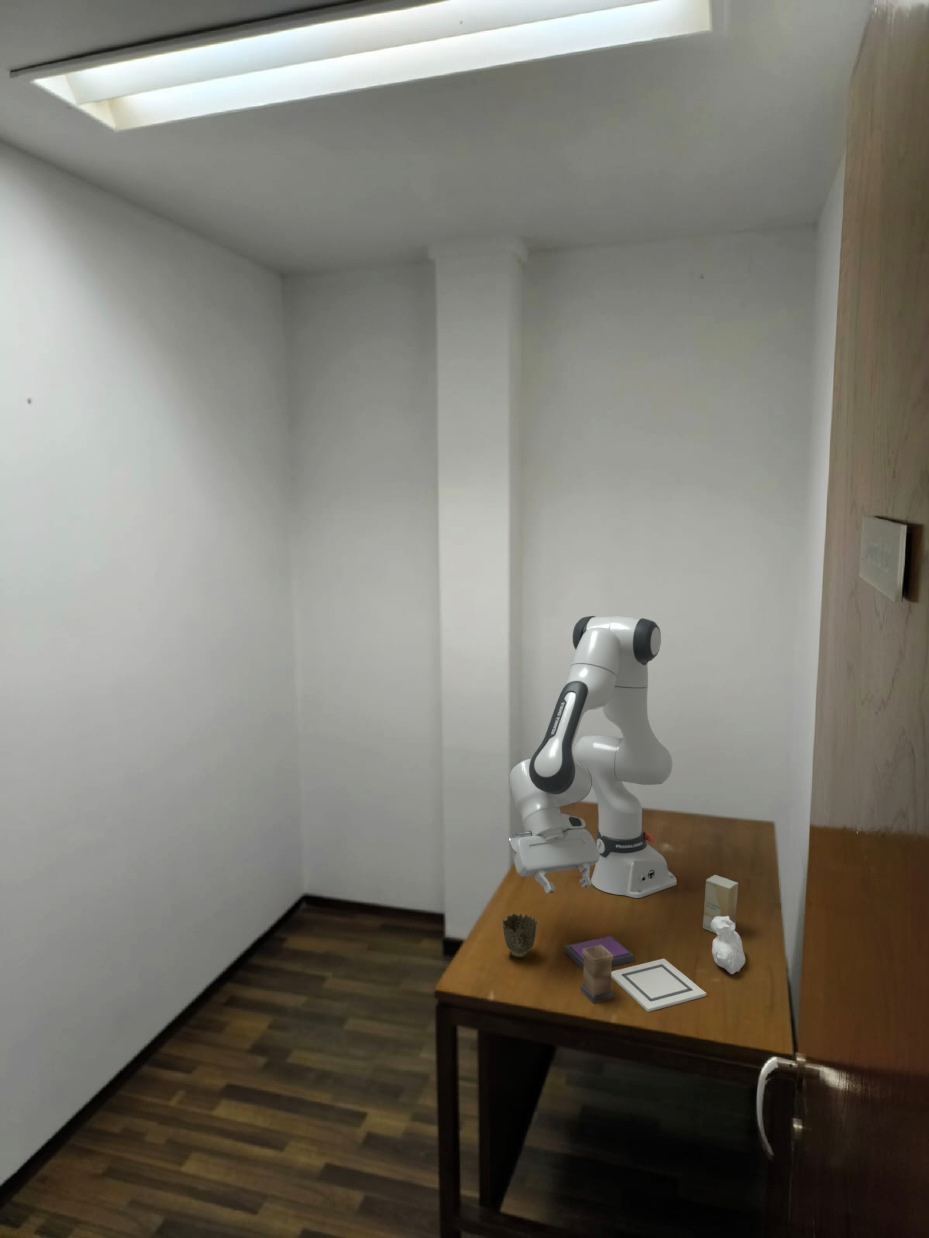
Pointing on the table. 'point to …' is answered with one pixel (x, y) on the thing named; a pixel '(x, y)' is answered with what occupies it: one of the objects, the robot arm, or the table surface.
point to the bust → (727, 945)
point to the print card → (657, 985)
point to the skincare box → (719, 900)
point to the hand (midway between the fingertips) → (569, 889)
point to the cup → (519, 934)
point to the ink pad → (609, 943)
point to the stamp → (597, 974)
